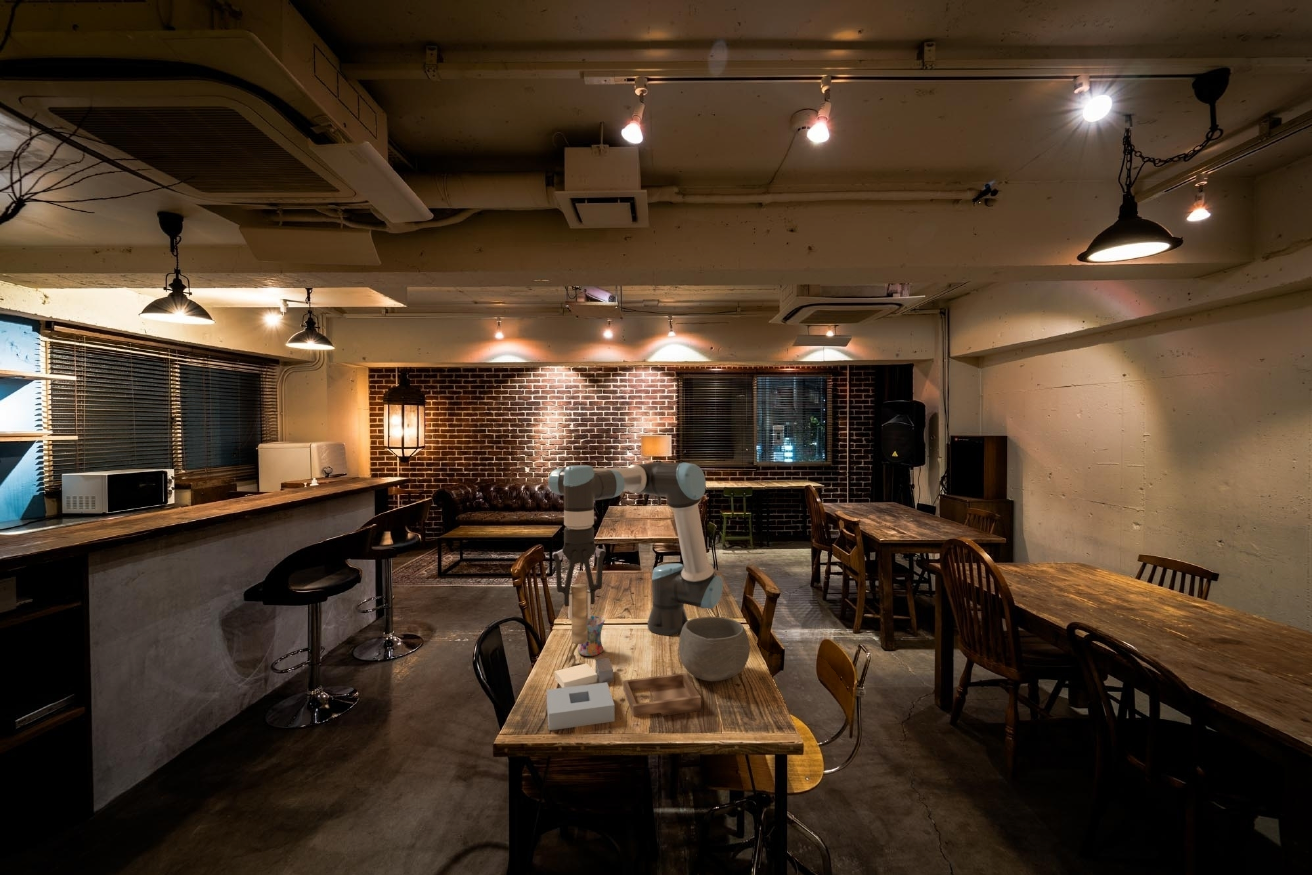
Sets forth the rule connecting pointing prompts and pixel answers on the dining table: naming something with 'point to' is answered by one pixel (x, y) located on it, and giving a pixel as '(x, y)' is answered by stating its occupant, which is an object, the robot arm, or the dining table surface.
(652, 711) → the tray
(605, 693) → the dowel block
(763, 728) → the dining table surface
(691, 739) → the dining table surface
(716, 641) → the bowl
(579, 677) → the cream rectangular block
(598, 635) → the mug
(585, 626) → the dowel
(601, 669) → the block
